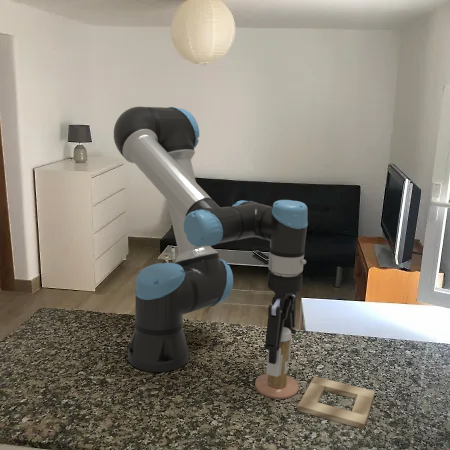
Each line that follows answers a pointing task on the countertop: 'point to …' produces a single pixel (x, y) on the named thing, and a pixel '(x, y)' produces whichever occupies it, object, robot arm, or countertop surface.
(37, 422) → the countertop surface
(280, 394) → the coaster
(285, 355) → the sprinkles bottle
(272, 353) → the robot arm
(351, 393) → the collar board
